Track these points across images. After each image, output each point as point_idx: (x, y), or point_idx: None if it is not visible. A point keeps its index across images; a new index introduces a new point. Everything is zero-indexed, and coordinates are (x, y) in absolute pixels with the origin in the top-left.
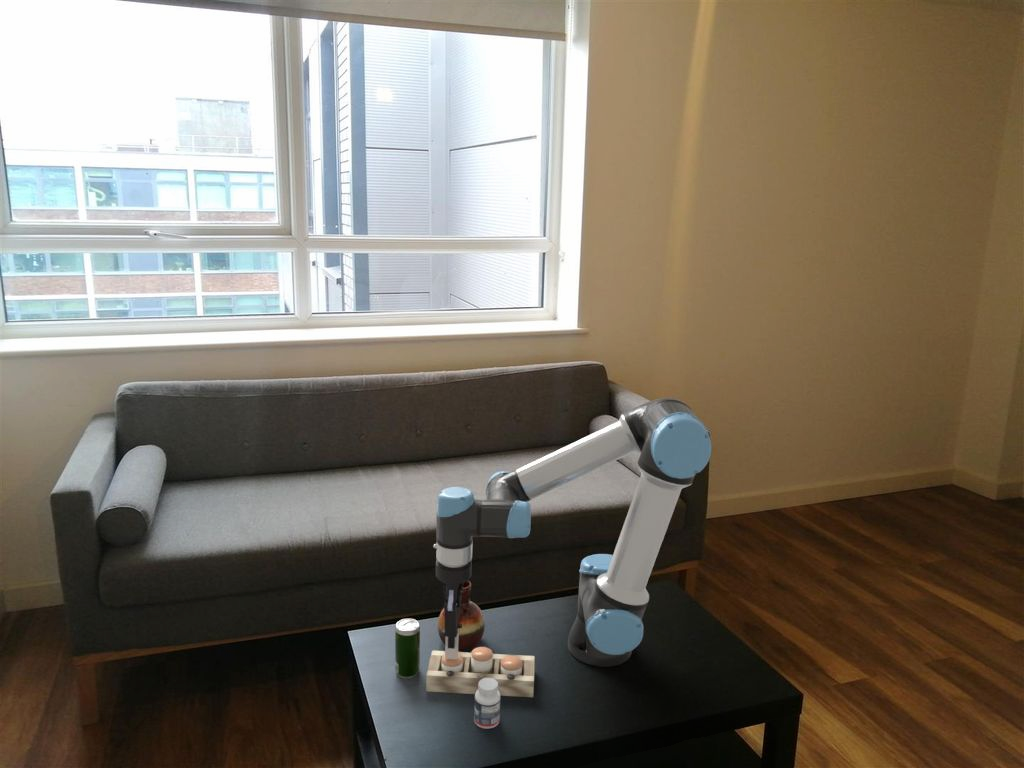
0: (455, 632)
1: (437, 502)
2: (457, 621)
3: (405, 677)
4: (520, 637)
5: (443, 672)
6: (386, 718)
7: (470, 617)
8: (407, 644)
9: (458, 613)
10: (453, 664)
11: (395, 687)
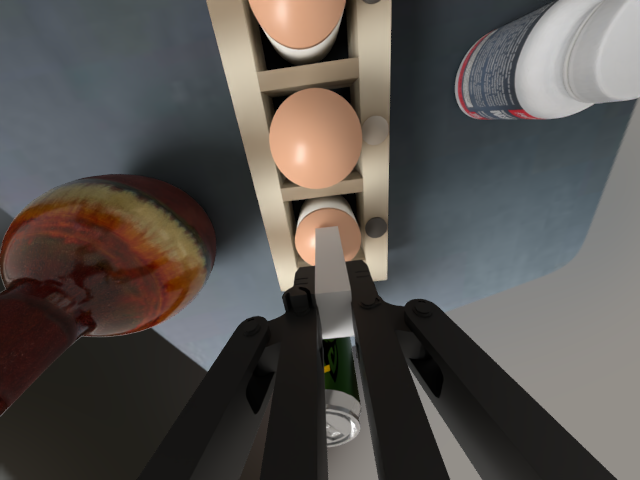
0: (460, 332)
1: None
2: (380, 365)
3: None
4: (27, 34)
5: (371, 245)
6: (459, 297)
7: (113, 246)
8: (355, 373)
9: (312, 398)
10: (359, 231)
11: None
